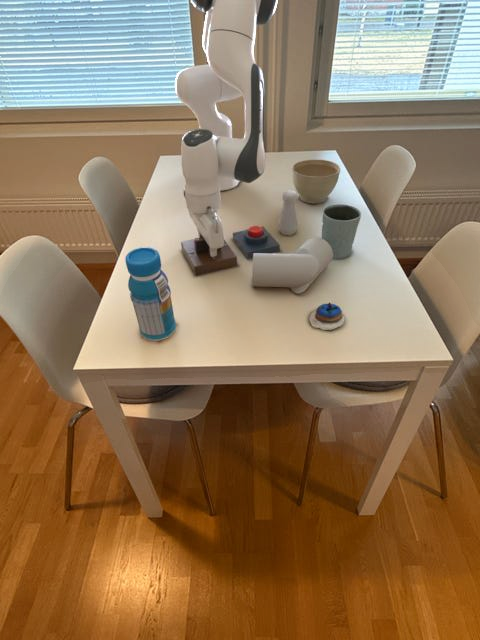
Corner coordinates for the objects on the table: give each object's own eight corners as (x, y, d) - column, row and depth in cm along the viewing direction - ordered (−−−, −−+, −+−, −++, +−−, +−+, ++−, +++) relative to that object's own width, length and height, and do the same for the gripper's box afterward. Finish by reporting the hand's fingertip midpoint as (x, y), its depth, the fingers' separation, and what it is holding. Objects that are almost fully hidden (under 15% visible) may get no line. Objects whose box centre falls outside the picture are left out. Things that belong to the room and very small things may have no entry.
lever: (218, 244, 113) (217, 232, 111) (220, 247, 112) (219, 235, 110) (195, 250, 112) (193, 238, 109) (196, 253, 110) (195, 241, 108)
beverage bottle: (144, 347, 88) (124, 271, 74) (136, 323, 94) (116, 250, 80) (181, 335, 90) (168, 260, 77) (171, 313, 96) (157, 240, 83)
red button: (246, 232, 117) (246, 227, 116) (259, 229, 118) (259, 224, 117) (252, 239, 114) (252, 233, 113) (264, 236, 115) (264, 230, 114)
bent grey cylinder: (304, 308, 94) (339, 267, 106) (298, 269, 88) (336, 230, 100) (243, 297, 104) (281, 261, 116) (234, 261, 98) (276, 227, 111)
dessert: (341, 305, 95) (345, 298, 90) (343, 332, 94) (347, 327, 88) (307, 307, 96) (309, 301, 90) (309, 334, 95) (311, 329, 89)
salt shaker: (295, 237, 121) (299, 197, 112) (277, 236, 122) (278, 195, 113) (297, 228, 125) (301, 188, 117) (279, 227, 126) (281, 187, 118)
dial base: (181, 250, 117) (180, 241, 115) (220, 242, 120) (219, 232, 118) (195, 276, 107) (194, 266, 105) (237, 266, 111) (236, 256, 108)
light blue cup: (314, 256, 113) (319, 217, 105) (321, 239, 120) (326, 201, 112) (351, 262, 110) (358, 223, 102) (356, 244, 117) (363, 206, 109)
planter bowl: (336, 189, 146) (340, 159, 139) (336, 209, 134) (340, 177, 127) (292, 187, 148) (293, 157, 141) (288, 207, 136) (290, 175, 129)
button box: (232, 239, 121) (232, 227, 119) (262, 232, 124) (263, 220, 121) (247, 259, 113) (247, 246, 110) (279, 251, 116) (280, 239, 113)
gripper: (229, 214, 96) (231, 263, 105) (203, 183, 110) (207, 228, 119) (203, 220, 94) (208, 268, 103) (181, 187, 109) (186, 232, 118)
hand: (207, 246), depth 111 cm, fingers open, 8 cm apart
